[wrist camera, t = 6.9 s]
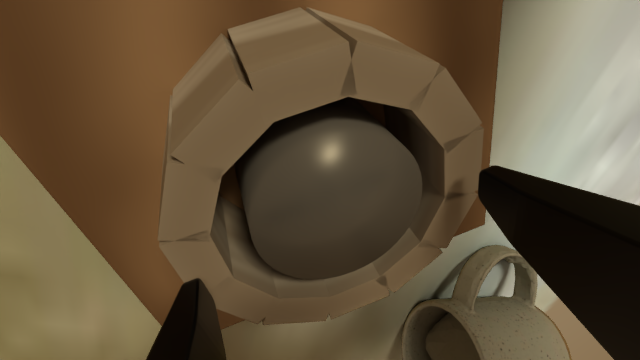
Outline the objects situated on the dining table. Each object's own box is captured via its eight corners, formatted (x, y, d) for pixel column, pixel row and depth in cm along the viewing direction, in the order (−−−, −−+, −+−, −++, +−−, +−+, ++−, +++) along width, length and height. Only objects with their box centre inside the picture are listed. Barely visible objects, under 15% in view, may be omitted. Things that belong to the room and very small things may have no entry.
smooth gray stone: (355, 58, 12) (417, 103, 9) (374, 176, 15) (426, 241, 12) (208, 108, 12) (220, 174, 9) (258, 221, 15) (280, 301, 12)
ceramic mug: (474, 338, 31) (548, 440, 25) (387, 351, 28) (447, 471, 21) (540, 236, 26) (654, 332, 20) (444, 238, 23) (543, 351, 17)
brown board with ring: (472, -194, 11) (683, -277, 7) (461, 201, 21) (544, 283, 16) (-97, -50, 9) (-373, -21, 5) (179, 311, 19) (178, 439, 14)
